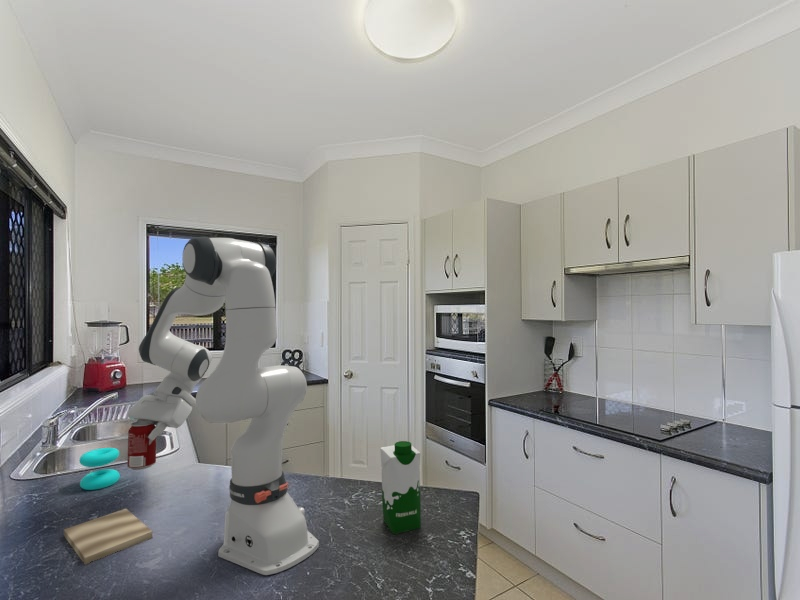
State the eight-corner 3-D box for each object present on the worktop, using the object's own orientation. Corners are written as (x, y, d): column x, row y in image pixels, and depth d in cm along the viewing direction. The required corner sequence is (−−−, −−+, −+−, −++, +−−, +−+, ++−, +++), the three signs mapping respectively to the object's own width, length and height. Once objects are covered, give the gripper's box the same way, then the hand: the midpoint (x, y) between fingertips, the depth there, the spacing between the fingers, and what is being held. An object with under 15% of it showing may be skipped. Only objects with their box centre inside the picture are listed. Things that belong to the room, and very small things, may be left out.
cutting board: (152, 537, 100) (152, 531, 100) (85, 564, 90) (84, 557, 90) (126, 514, 111) (125, 508, 111) (63, 535, 102) (63, 529, 102)
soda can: (143, 471, 114) (144, 426, 115) (121, 470, 115) (122, 425, 116) (161, 463, 121) (162, 420, 121) (139, 462, 122) (141, 419, 122)
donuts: (84, 460, 124) (75, 452, 130) (85, 494, 124) (76, 485, 130) (123, 450, 131) (113, 444, 138) (124, 483, 131) (114, 475, 138)
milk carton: (391, 537, 97) (388, 449, 97) (378, 518, 106) (376, 438, 106) (426, 529, 100) (423, 444, 101) (411, 511, 109) (409, 433, 109)
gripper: (141, 386, 129) (108, 427, 120) (188, 390, 120) (156, 435, 111) (155, 397, 133) (124, 438, 124) (202, 402, 124) (172, 447, 115)
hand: (140, 437), depth 118 cm, fingers closed on soda can, 6 cm apart
